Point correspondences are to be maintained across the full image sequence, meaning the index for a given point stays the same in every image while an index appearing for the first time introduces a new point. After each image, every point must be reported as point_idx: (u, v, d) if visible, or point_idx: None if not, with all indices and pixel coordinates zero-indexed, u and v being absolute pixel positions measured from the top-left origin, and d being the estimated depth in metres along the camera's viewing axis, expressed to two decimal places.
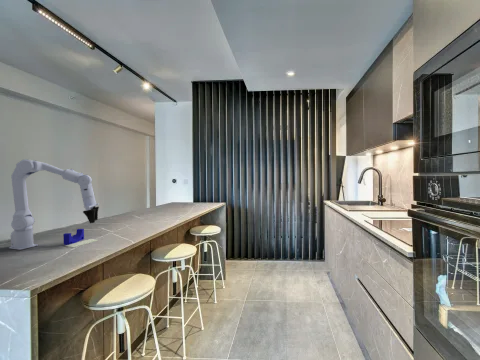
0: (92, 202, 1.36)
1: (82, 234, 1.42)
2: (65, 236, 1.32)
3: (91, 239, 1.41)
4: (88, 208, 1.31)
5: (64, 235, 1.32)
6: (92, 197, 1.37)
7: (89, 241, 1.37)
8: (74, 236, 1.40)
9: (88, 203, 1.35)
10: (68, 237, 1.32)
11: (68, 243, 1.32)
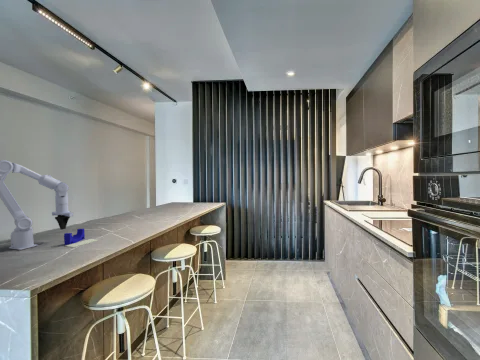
0: (68, 209, 1.41)
1: (83, 234, 1.43)
2: (66, 236, 1.32)
3: (91, 239, 1.41)
4: (72, 214, 1.38)
5: (65, 235, 1.32)
6: None
7: (89, 241, 1.37)
8: (75, 236, 1.41)
9: (65, 210, 1.39)
10: (69, 237, 1.32)
11: (69, 243, 1.32)
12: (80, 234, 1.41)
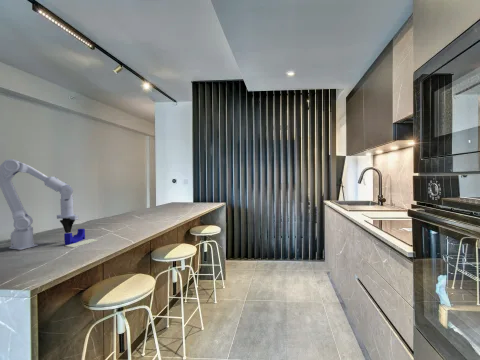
0: (73, 212, 1.39)
1: (83, 234, 1.43)
2: (66, 236, 1.32)
3: (91, 239, 1.41)
4: (77, 217, 1.36)
5: (65, 235, 1.32)
6: None
7: (89, 241, 1.37)
8: (75, 236, 1.41)
9: (70, 213, 1.37)
10: (69, 237, 1.32)
11: (69, 243, 1.32)
12: (80, 234, 1.42)
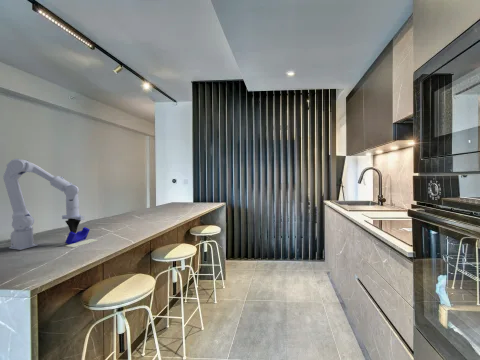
0: (78, 213, 1.38)
1: (86, 234, 1.43)
2: (70, 235, 1.32)
3: (91, 239, 1.41)
4: (83, 218, 1.35)
5: (69, 233, 1.32)
6: (78, 208, 1.38)
7: (89, 241, 1.37)
8: (78, 233, 1.41)
9: (76, 213, 1.36)
10: (72, 237, 1.32)
11: (70, 242, 1.32)
12: (83, 234, 1.42)
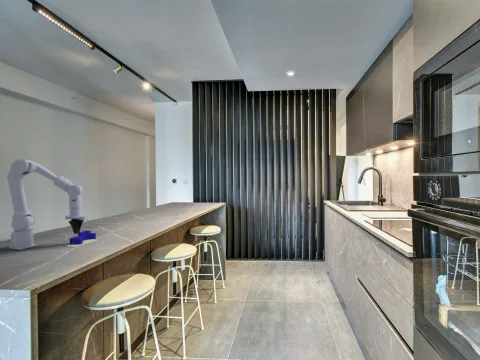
0: None
1: None
2: (78, 240, 1.32)
3: (91, 239, 1.41)
4: (86, 218, 1.34)
5: (79, 239, 1.32)
6: None
7: (89, 241, 1.37)
8: (86, 233, 1.41)
9: (79, 214, 1.35)
10: (77, 243, 1.32)
11: (71, 243, 1.32)
12: (88, 238, 1.41)
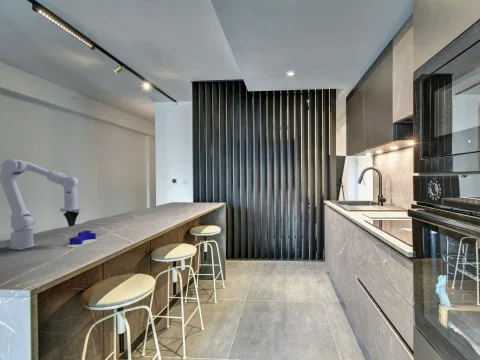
0: (77, 205, 1.35)
1: None
2: (78, 240, 1.32)
3: (91, 239, 1.41)
4: (81, 210, 1.32)
5: (79, 239, 1.32)
6: None
7: (89, 241, 1.37)
8: (86, 233, 1.41)
9: (74, 206, 1.33)
10: (77, 243, 1.32)
11: (71, 243, 1.32)
12: (88, 238, 1.41)
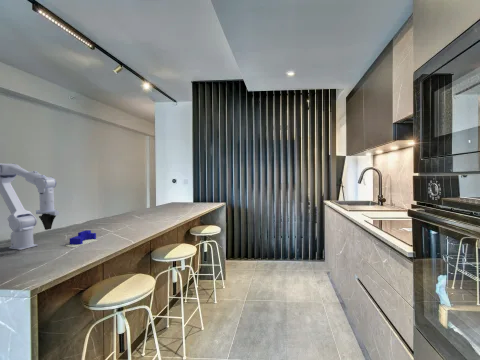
0: (53, 207, 1.27)
1: None
2: (78, 240, 1.32)
3: (91, 239, 1.41)
4: (57, 213, 1.24)
5: (79, 239, 1.32)
6: None
7: (89, 241, 1.37)
8: (86, 233, 1.41)
9: (50, 208, 1.25)
10: (77, 243, 1.32)
11: (71, 243, 1.32)
12: (88, 238, 1.41)
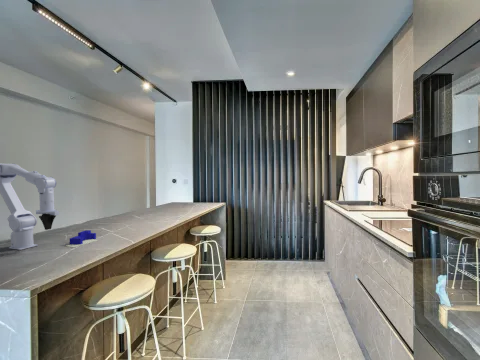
0: (53, 207, 1.27)
1: None
2: (78, 240, 1.32)
3: (91, 239, 1.41)
4: (57, 213, 1.24)
5: (79, 239, 1.32)
6: None
7: (89, 241, 1.37)
8: (86, 233, 1.41)
9: (50, 208, 1.25)
10: (77, 243, 1.32)
11: (71, 243, 1.32)
12: (88, 238, 1.41)
